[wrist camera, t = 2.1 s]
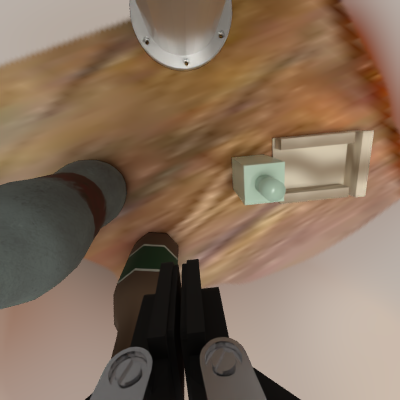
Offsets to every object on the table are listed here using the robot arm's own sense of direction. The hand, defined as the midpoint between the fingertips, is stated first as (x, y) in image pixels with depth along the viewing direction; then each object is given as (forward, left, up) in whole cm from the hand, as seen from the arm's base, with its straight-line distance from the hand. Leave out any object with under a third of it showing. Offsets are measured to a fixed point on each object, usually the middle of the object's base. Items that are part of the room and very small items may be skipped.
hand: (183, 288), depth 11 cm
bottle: (+1, +10, -27) cm, 28 cm away
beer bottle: (+13, -6, -27) cm, 30 cm away
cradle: (+1, +20, -27) cm, 33 cm away
